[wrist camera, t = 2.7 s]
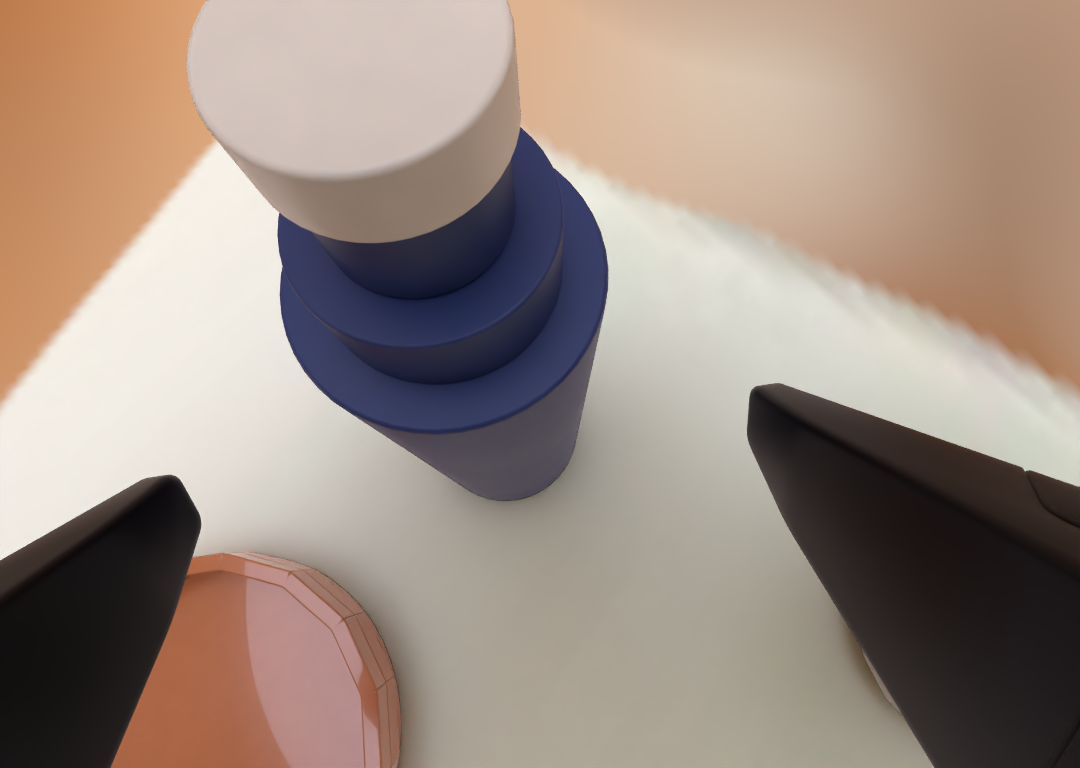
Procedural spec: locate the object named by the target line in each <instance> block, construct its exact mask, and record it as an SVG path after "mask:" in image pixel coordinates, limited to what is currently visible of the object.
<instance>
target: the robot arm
mask: <svg viewBox="0 0 1080 768" xmlns="http://www.w3.org/2000/svg"><path fill="white" fill-rule="evenodd" d="M747 437H748V441H749V445H750V447H751V449H752V452H753V454H754V456H755V458H756V460H757V462H758V465H759V467H760V469H761V471H762V473H763V475H764V478H765V480H766V482H767V484H768V486H769V489H770V491H771V493H772V495H773V497H774V499H775V502H776V504H777V506H778V508H779V510H780V512H781V514H782V516H783V518H784V520H785V522H786V524H787V526H788V528H789V530H790V531H791V533H792V535H793V537H794V538H795V540H796V542H797V543H798V545H799V547H800V548H801V550H802V551H803V553H804V555H805V556H806V558H807V560H808V561H809V563H810V565H811V566H812V568H813V569H814V571H815V573H816V574H817V576H818V578H819V579H820V581H821V583H822V584H823V586H824V587H825V589H826V591H827V592H828V594H829V596H830V597H831V599H832V601H833V602H834V604H835V605H836V607H837V609H838V610H839V612H840V614H841V615H842V617H843V619H844V620H845V622H846V624H847V625H848V627H849V628H850V630H851V632H852V633H853V635H854V637H855V638H856V640H857V642H858V643H859V645H860V646H861V648H862V650H863V651H864V653H865V655H866V656H867V658H868V660H869V661H870V663H871V664H872V666H873V668H874V669H875V671H876V673H877V674H878V676H879V678H880V679H881V681H882V682H883V684H884V686H885V687H886V689H887V691H888V692H889V694H890V696H891V697H892V699H893V700H894V702H895V704H896V705H897V707H898V709H899V710H900V712H901V714H902V715H903V717H904V719H905V720H906V722H907V723H908V725H909V727H910V728H911V730H912V732H913V733H914V735H915V737H916V738H917V740H918V741H919V743H920V745H921V746H922V748H923V750H924V751H925V753H926V755H927V756H928V758H929V759H930V761H931V763H932V764H933V766H934V768H1080V487H1077V486H1074V485H1071V484H1068V483H1065V482H1062V481H1059V480H1056V479H1054V478H1051V477H1048V476H1045V475H1042V474H1039V473H1037V472H1034V471H1030V470H1029V471H1026V472H1025V471H1024V469H1023V468H1021V467H1019V466H1016V465H1013V464H1010V463H1007V462H1005V461H1002V460H999V459H996V458H993V457H990V456H987V455H984V454H981V453H979V452H976V451H973V450H970V449H967V448H964V447H961V446H958V445H956V444H953V443H950V442H947V441H944V440H941V439H938V438H935V437H933V436H930V435H927V434H924V433H921V432H918V431H915V430H913V429H910V428H907V427H904V426H901V425H898V424H895V423H892V422H890V421H887V420H884V419H881V418H878V417H875V416H872V415H869V414H867V413H864V412H861V411H858V410H855V409H852V408H849V407H846V406H844V405H841V404H838V403H835V402H832V401H829V400H826V399H823V398H821V397H818V396H815V395H812V394H809V393H806V392H803V391H801V390H798V389H795V388H792V387H789V386H786V385H783V384H780V383H774V384H768V385H761V386H756V387H754V388H753V389H752V390H751V393H750V398H749V411H748V424H747ZM200 530H201V518H200V515H199V512H198V511H197V509H196V507H195V505H194V503H193V502H192V500H191V498H190V496H189V494H188V493H187V491H186V489H185V487H184V485H183V484H182V482H181V481H180V479H178V478H177V477H176V476H173V475H164V476H157V477H151V478H146V479H143V480H141V481H139V482H137V483H135V484H134V485H132V486H130V487H128V488H127V489H125V490H123V491H121V492H120V493H118V494H116V495H114V496H113V497H111V498H109V499H107V500H106V501H104V502H102V503H100V504H99V505H97V506H95V507H93V508H92V509H90V510H88V511H86V512H85V513H83V514H81V515H79V516H78V517H76V518H74V519H72V520H71V521H69V522H67V523H65V524H64V525H62V526H60V527H58V528H57V529H55V530H53V531H51V532H49V533H48V534H46V535H44V536H42V537H41V538H39V539H37V540H35V541H34V542H32V543H30V544H28V545H27V546H25V547H23V548H21V549H20V550H18V551H16V552H14V553H13V554H11V555H9V556H7V557H6V558H4V559H2V560H0V768H111V766H112V763H113V761H114V759H115V756H116V754H117V751H118V749H119V747H120V744H121V742H122V740H123V737H124V735H125V733H126V730H127V728H128V725H129V723H130V721H131V718H132V716H133V714H134V711H135V709H136V707H137V704H138V702H139V699H140V697H141V695H142V692H143V690H144V688H145V685H146V683H147V681H148V678H149V676H150V673H151V671H152V669H153V666H154V664H155V662H156V659H157V657H158V655H159V652H160V650H161V647H162V645H163V643H164V640H165V638H166V636H167V633H168V631H169V628H170V625H171V623H172V620H173V617H174V614H175V611H176V608H177V605H178V602H179V599H180V596H181V593H182V589H183V586H184V583H185V579H186V576H187V573H188V570H189V566H190V563H191V560H192V557H193V553H194V550H195V547H196V543H197V540H198V537H199V534H200Z"/></svg>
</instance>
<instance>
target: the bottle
mask: <svg viewBox="0 0 1080 768" xmlns="http://www.w3.org/2000/svg"><path fill="white" fill-rule="evenodd" d="M186 60H187V61H186V62H187V78H188V83H189V87H190V92H191V96H192V99H193V102H194V104H195V107H196V109H197V112H198V114H199V116H200V117H201V119H202V121H203V122H204V124H205V125H206V127H207V129H208V130H209V131H210V132H211V134H212V135H213V136H214V137H215V139H216V140H217V141H218V142H219V143H220V145H221V146H222V147H223V148H224V149H225V151H226V152H227V153H228V154H229V155H230V157H231V158H232V159H233V160H234V161H235V163H236V164H237V165H238V166H239V167H240V169H241V170H242V171H243V172H244V173H245V175H246V176H247V177H248V178H249V180H250V181H251V182H252V183H253V184H254V186H255V187H256V188H257V189H258V190H259V192H260V193H261V194H262V195H263V196H264V197H265V199H266V200H267V201H268V202H269V203H270V204H271V205H272V206H273V208H275V209H276V210H277V211H278V212H280V213H279V218H278V245H279V253H280V257H281V261H282V265H283V268H282V273H281V283H280V303H281V314H282V319H283V323H284V328H285V332H286V336H287V338H288V341H289V343H290V346H291V348H292V350H293V353H294V355H295V357H296V358H297V360H298V362H299V363H300V365H301V367H302V368H303V370H304V372H305V373H306V374H307V375H308V377H309V378H310V379H311V380H312V381H313V383H314V384H315V385H316V386H317V387H318V388H319V389H320V390H321V391H322V392H323V393H324V394H325V395H326V396H328V397H329V398H330V399H331V400H332V401H333V402H335V403H336V404H338V405H339V406H340V407H342V408H343V409H345V410H346V411H348V412H349V413H351V414H352V415H354V416H356V417H357V418H359V419H360V420H362V421H363V422H365V423H366V424H368V425H369V426H371V427H372V428H374V429H375V430H377V431H378V432H380V433H382V434H383V435H385V436H386V437H388V438H389V439H391V440H392V441H394V442H395V443H397V444H398V445H400V446H401V447H403V448H405V449H406V450H408V451H409V452H411V453H412V454H414V455H415V456H417V457H418V458H420V459H421V460H423V461H424V462H426V463H427V464H429V465H431V466H432V467H434V468H435V469H437V470H438V471H440V472H441V473H443V474H444V475H446V476H447V477H449V478H450V479H452V480H453V481H455V482H457V483H458V484H460V485H461V486H463V487H464V488H466V489H467V490H469V491H470V492H472V493H474V494H476V495H478V496H481V497H484V498H487V499H492V500H500V501H510V500H518V499H523V498H527V497H529V496H532V495H535V494H536V493H538V492H540V491H542V490H544V489H545V488H547V487H548V486H549V485H551V484H552V483H553V482H554V481H555V480H556V479H557V478H558V477H559V476H560V474H561V473H562V472H563V471H564V469H565V468H566V466H567V464H568V462H569V460H570V458H571V456H572V453H573V450H574V447H575V442H576V438H577V433H578V428H579V424H580V419H581V415H582V410H583V406H584V401H585V396H586V392H587V387H588V383H589V378H590V374H591V369H592V365H593V360H594V355H595V351H596V346H597V342H598V337H599V333H600V328H601V323H602V319H603V314H604V310H605V304H606V298H607V292H608V263H607V255H606V249H605V245H604V242H603V238H602V235H601V231H600V229H599V227H598V225H597V222H596V220H595V218H594V216H593V214H592V212H591V210H590V209H589V207H588V206H587V204H586V202H585V201H584V199H583V198H582V196H581V195H580V194H579V193H578V192H577V190H576V189H575V188H574V187H573V186H572V184H571V183H570V182H569V181H568V180H567V179H566V178H564V177H563V176H562V175H561V174H560V173H559V172H558V171H557V170H556V169H554V168H553V167H552V165H551V163H550V161H549V160H548V158H547V157H546V155H545V153H544V152H543V150H542V149H541V148H540V147H539V146H538V144H537V143H536V142H535V141H534V140H533V138H532V137H531V136H529V135H528V134H527V133H526V132H525V131H524V130H523V129H522V128H521V127H520V120H521V110H520V97H519V85H518V84H519V83H518V70H517V57H516V43H515V32H514V21H513V17H512V13H511V9H510V5H509V3H508V1H507V0H207V1H206V2H205V4H204V6H203V7H202V9H201V10H200V12H199V15H198V17H197V19H196V21H195V23H194V26H193V29H192V32H191V36H190V39H189V43H188V50H187V59H186Z"/></svg>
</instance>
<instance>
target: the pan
mask: <svg viewBox="0 0 1080 768" xmlns="http://www.w3.org/2000/svg"><path fill="white" fill-rule="evenodd" d="M400 741H401V710H400V702H399V695H398V687H397V683H396V679H395V675H394V671H393V667H392V663H391V660H390V658H389V655H388V653H387V650H386V648H385V645H384V643H383V640H382V638H381V637H380V635H379V633H378V631H377V629H376V628H375V626H374V624H373V622H372V621H371V619H370V618H369V617H368V615H367V614H366V613H365V611H364V610H363V609H362V607H361V606H360V605H359V604H358V603H357V602H356V601H355V600H354V599H353V598H352V597H351V596H350V595H349V594H348V593H347V592H346V591H345V590H344V589H343V588H342V587H341V586H339V585H338V584H337V583H335V582H334V581H332V580H331V579H330V578H328V577H327V576H325V575H323V574H321V573H320V572H318V571H317V570H314V569H313V568H310V567H308V566H305V565H302V564H300V563H297V562H294V561H291V560H287V559H282V558H277V557H272V556H266V555H263V554H259V553H256V552H241V553H219V554H213V555H206V556H199V557H193V558H192V560H191V563H190V566H189V570H188V573H187V576H186V579H185V583H184V586H183V589H182V593H181V596H180V599H179V602H178V605H177V608H176V611H175V614H174V617H173V620H172V623H171V625H170V628H169V631H168V633H167V636H166V638H165V640H164V643H163V645H162V647H161V650H160V652H159V655H158V657H157V659H156V662H155V664H154V666H153V669H152V671H151V673H150V676H149V678H148V681H147V683H146V685H145V688H144V690H143V692H142V695H141V697H140V699H139V702H138V704H137V707H136V709H135V711H134V714H133V716H132V718H131V721H130V723H129V725H128V728H127V730H126V733H125V735H124V737H123V740H122V742H121V744H120V747H119V749H118V751H117V754H116V756H115V759H114V761H113V763H112V766H111V768H397V767H398V760H399V754H400V752H399V750H400Z"/></svg>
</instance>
